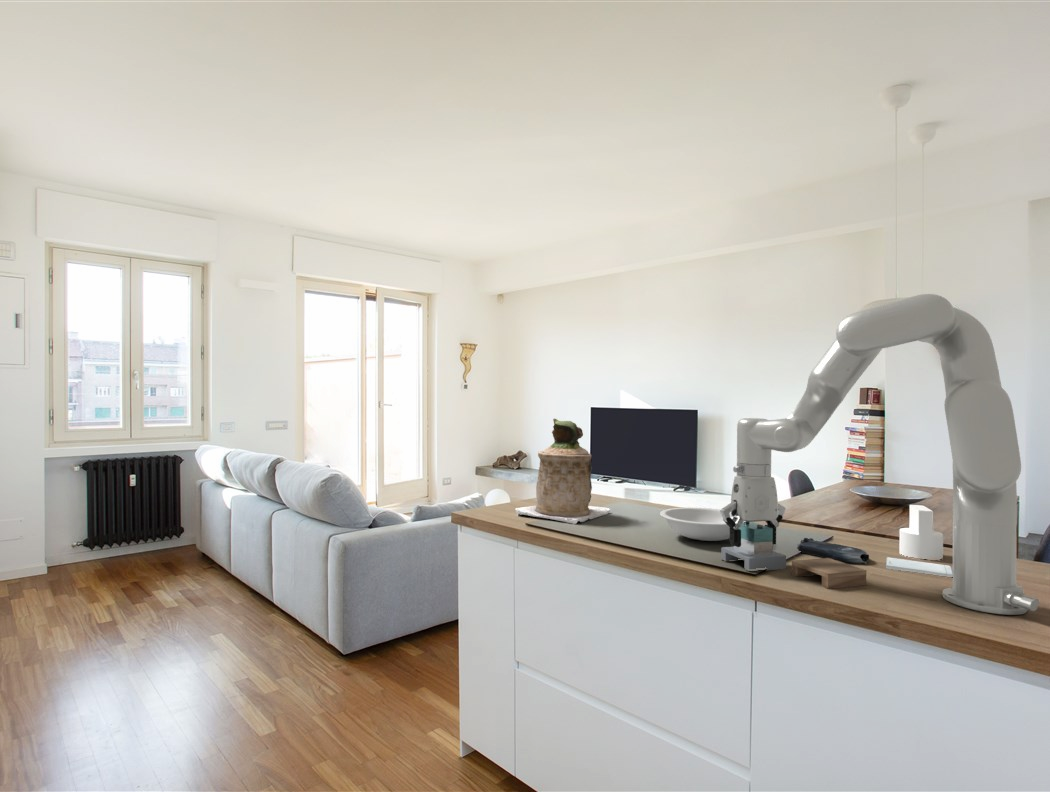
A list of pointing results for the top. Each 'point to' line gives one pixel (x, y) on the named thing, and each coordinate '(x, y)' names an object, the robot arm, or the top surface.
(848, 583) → the stand
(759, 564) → the stand
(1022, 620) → the top surface
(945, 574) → the hard drive
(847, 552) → the electronic device
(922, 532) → the cylinder with rectangular tab
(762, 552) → the block
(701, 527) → the soup bowl
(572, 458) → the cookie jar
